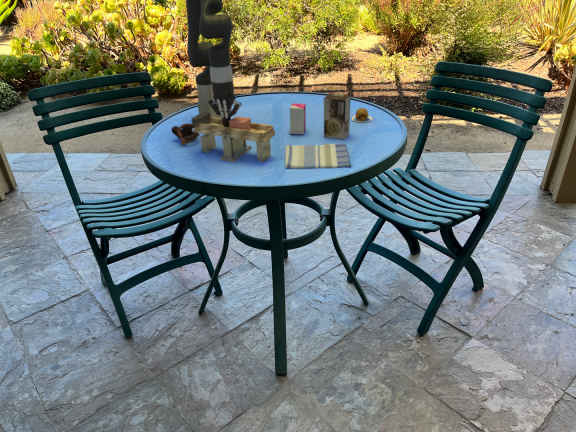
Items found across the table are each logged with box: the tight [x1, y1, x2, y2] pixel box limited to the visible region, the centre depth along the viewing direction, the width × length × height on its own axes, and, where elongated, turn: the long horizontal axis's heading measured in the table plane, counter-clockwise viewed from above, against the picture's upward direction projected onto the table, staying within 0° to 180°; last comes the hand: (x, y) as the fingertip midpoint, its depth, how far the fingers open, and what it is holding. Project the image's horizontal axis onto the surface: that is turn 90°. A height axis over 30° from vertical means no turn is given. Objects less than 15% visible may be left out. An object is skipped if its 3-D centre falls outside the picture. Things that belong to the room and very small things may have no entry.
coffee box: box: [323, 92, 351, 140], centre depth 165 cm, size 9×6×16 cm
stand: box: [199, 133, 272, 163], centre depth 155 cm, size 26×13×10 cm, turn 66°
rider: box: [229, 115, 252, 130], centre depth 151 cm, size 6×5×4 cm
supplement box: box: [289, 102, 307, 136], centre depth 170 cm, size 6×6×12 cm
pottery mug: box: [170, 123, 201, 146], centre depth 169 cm, size 12×10×8 cm
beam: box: [190, 112, 276, 143], centre depth 152 cm, size 30×8×5 cm, turn 66°
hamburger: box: [351, 107, 373, 123], centre depth 182 cm, size 12×12×6 cm
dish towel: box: [284, 143, 352, 170], centre depth 152 cm, size 17×24×3 cm
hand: (227, 126), depth 153 cm, fingers closed
